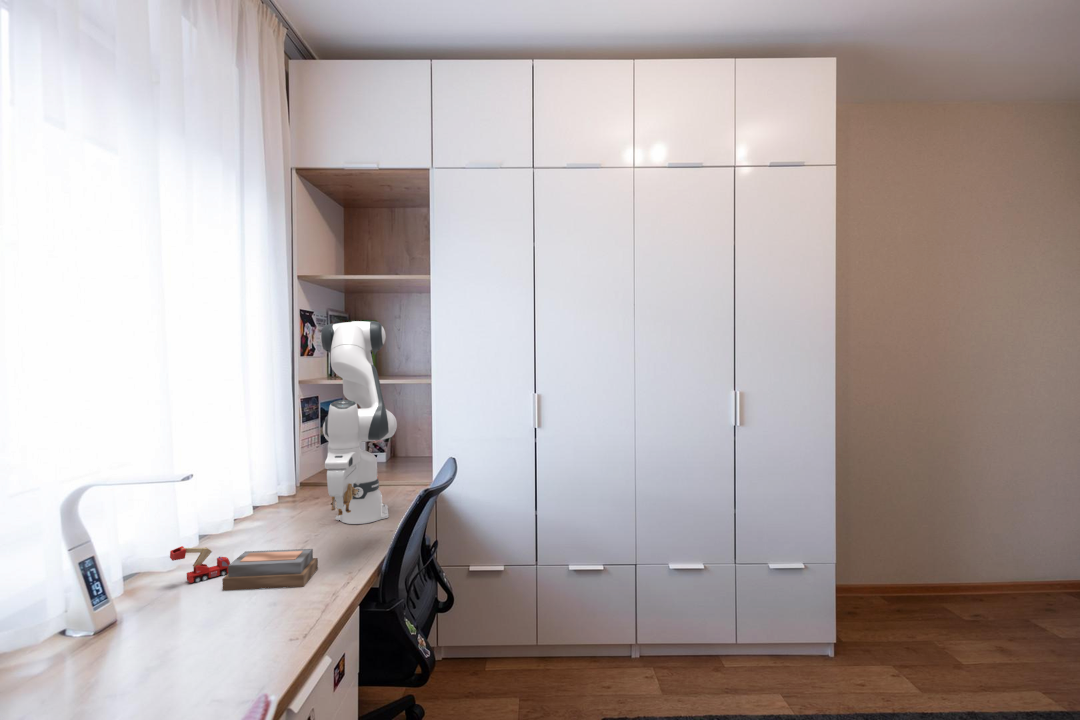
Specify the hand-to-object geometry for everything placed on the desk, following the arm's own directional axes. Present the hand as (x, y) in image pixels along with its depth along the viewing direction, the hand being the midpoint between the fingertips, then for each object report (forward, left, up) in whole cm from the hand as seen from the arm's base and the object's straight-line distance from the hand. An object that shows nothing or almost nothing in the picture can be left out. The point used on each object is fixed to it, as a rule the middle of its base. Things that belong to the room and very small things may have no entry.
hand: (344, 503), depth 162 cm
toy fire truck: (+10, -35, -17) cm, 40 cm away
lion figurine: (-2, -1, -3) cm, 3 cm away
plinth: (+12, -16, -16) cm, 26 cm away
